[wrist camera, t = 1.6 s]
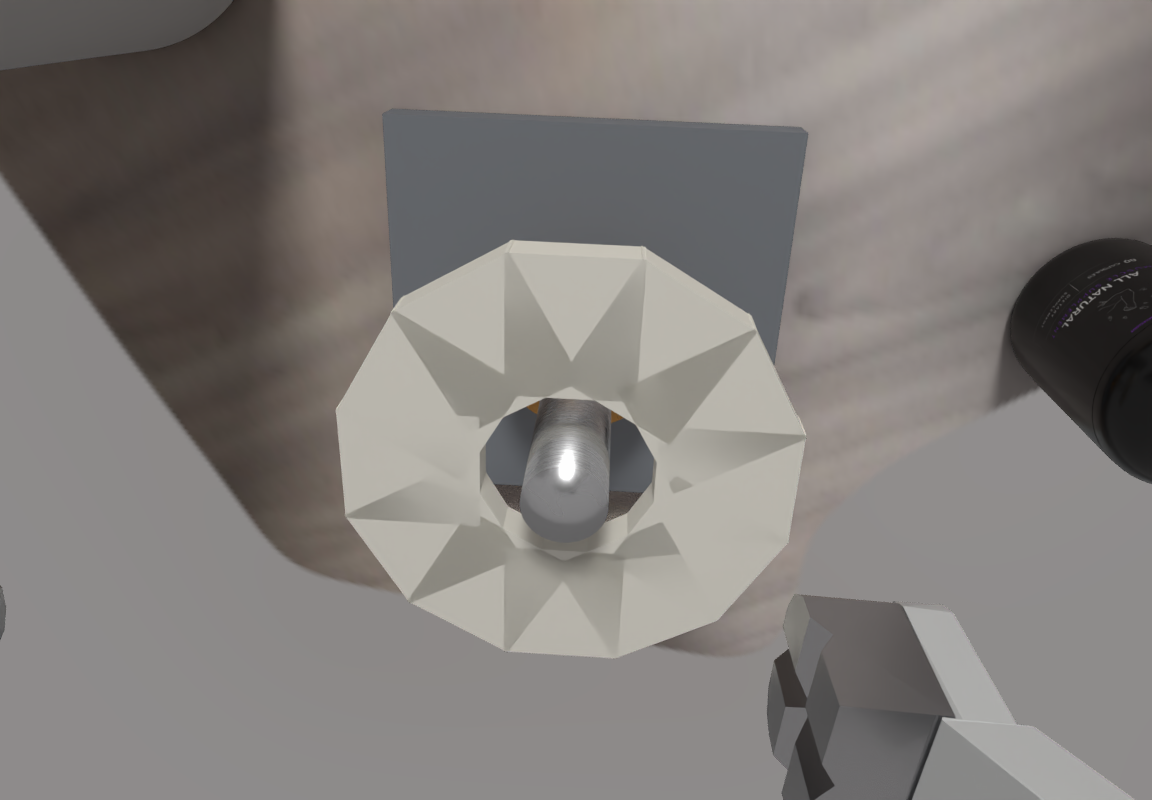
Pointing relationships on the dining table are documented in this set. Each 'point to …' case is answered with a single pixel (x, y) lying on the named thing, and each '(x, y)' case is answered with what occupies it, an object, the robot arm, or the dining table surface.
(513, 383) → the silicone ring
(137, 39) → the cylinder vase
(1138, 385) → the supplement bottle
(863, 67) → the dining table surface
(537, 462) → the silver and orange rod
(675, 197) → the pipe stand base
